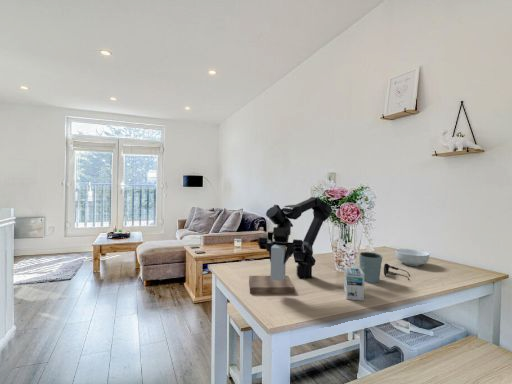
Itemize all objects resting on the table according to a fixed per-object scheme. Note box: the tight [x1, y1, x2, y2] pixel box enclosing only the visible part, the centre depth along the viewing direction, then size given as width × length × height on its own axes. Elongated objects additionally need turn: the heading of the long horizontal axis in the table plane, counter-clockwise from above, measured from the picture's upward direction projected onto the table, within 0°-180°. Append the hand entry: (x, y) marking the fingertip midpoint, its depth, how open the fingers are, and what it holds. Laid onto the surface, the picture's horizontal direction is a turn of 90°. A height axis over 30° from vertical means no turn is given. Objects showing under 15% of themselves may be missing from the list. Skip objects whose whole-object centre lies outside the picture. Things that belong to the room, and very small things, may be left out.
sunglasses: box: [383, 263, 411, 281], centre depth 139 cm, size 10×12×5 cm
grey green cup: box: [358, 251, 383, 284], centre depth 132 cm, size 10×10×12 cm
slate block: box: [270, 245, 287, 281], centre depth 113 cm, size 5×5×13 cm
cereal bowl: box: [394, 248, 430, 267], centre depth 159 cm, size 17×17×7 cm
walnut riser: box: [248, 275, 295, 294], centre depth 121 cm, size 18×14×2 cm
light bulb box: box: [343, 264, 365, 301], centre depth 114 cm, size 11×7×11 cm, turn 168°
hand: (277, 262), depth 112 cm, fingers closed on slate block, 5 cm apart
